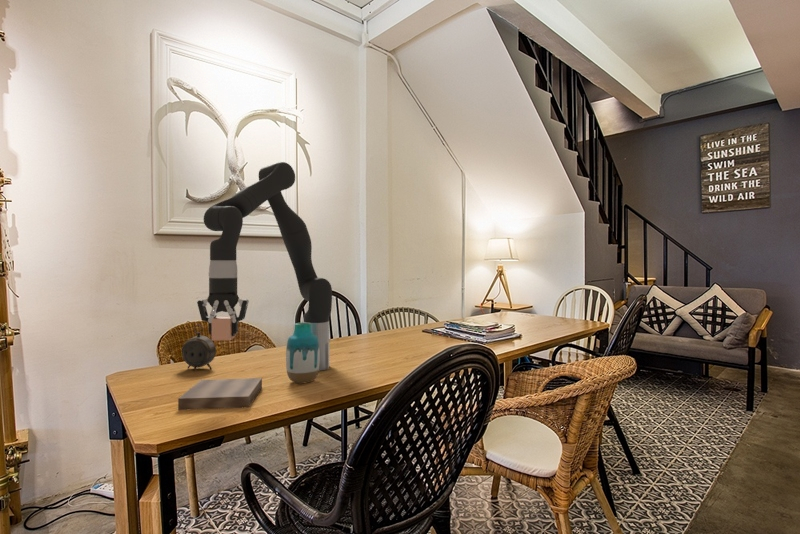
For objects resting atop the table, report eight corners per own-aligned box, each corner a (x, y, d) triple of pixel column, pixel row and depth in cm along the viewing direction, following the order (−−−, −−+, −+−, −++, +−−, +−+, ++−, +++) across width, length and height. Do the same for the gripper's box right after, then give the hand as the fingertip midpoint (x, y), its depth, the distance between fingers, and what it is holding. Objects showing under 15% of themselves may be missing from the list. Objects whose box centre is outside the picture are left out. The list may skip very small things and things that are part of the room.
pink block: (234, 337, 127) (234, 316, 127) (230, 340, 122) (230, 319, 122) (216, 337, 126) (216, 316, 126) (211, 340, 121) (211, 319, 121)
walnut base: (261, 387, 135) (261, 378, 134) (248, 407, 117) (248, 396, 117) (201, 389, 132) (201, 379, 132) (178, 409, 114) (178, 398, 114)
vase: (308, 376, 148) (308, 320, 148) (325, 382, 141) (326, 323, 141) (279, 382, 141) (280, 323, 141) (297, 389, 133) (297, 327, 133)
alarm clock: (216, 368, 158) (216, 323, 158) (208, 372, 153) (208, 326, 153) (188, 367, 159) (188, 323, 159) (179, 371, 154) (179, 325, 154)
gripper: (252, 275, 129) (252, 333, 129) (201, 275, 127) (201, 333, 127) (246, 277, 121) (246, 337, 121) (192, 276, 119) (192, 338, 120)
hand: (223, 335), depth 124 cm, fingers closed on pink block, 5 cm apart
